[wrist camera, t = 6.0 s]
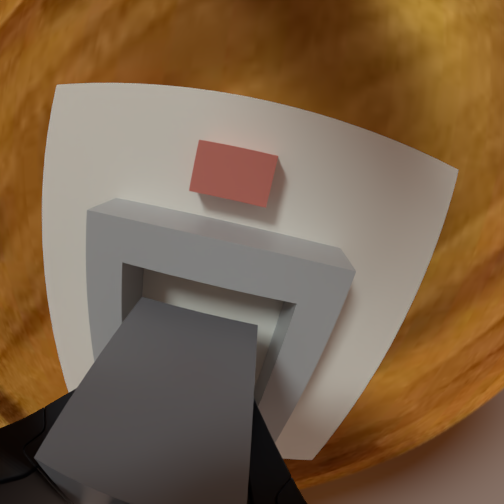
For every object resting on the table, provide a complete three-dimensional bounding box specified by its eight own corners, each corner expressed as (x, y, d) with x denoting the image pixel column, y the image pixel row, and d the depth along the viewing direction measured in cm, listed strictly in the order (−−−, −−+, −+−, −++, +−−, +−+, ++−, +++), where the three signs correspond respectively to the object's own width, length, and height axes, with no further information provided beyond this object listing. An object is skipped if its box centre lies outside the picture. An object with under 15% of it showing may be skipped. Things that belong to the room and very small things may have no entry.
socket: (310, 446, 16) (314, 484, 13) (79, 390, 15) (59, 422, 12) (442, 166, 10) (490, 177, 7) (73, 87, 9) (24, 79, 6)
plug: (230, 409, 11) (206, 584, 3) (146, 388, 11) (83, 548, 3) (258, 314, 9) (240, 587, 2) (148, 287, 9) (9, 505, 2)
